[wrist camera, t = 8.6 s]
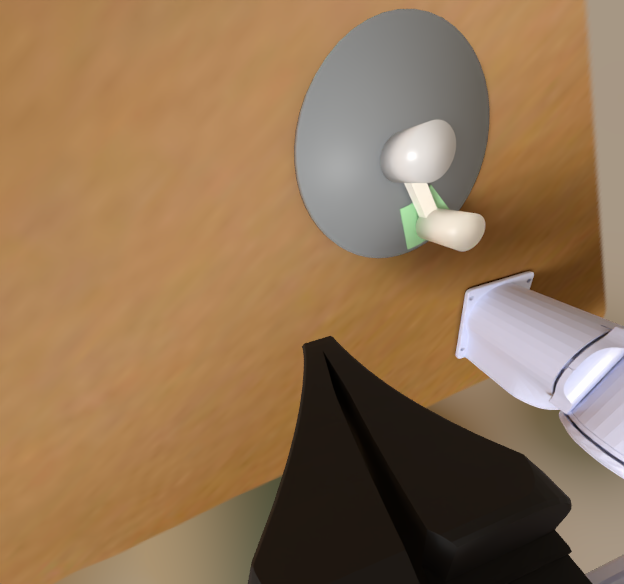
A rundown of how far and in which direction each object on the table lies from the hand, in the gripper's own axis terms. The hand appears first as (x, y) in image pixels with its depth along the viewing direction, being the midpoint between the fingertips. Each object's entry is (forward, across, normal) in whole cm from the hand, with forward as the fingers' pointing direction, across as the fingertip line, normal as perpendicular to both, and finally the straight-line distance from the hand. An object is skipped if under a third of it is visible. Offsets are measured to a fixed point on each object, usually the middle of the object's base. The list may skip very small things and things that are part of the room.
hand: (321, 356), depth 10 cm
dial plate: (+9, -9, -7) cm, 15 cm away
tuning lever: (+8, -10, -5) cm, 14 cm away
